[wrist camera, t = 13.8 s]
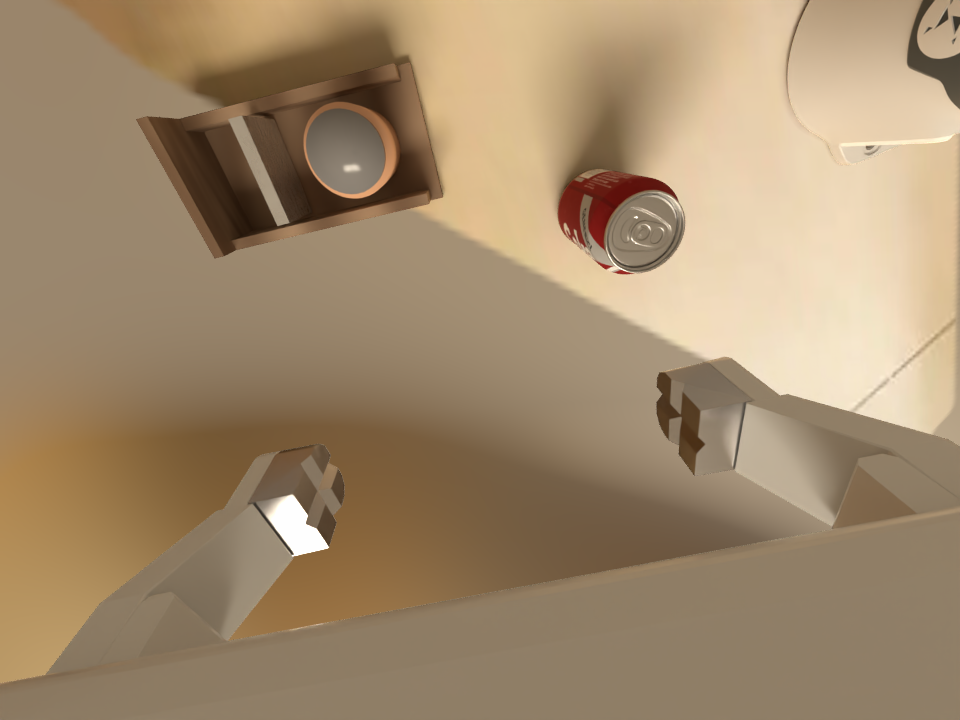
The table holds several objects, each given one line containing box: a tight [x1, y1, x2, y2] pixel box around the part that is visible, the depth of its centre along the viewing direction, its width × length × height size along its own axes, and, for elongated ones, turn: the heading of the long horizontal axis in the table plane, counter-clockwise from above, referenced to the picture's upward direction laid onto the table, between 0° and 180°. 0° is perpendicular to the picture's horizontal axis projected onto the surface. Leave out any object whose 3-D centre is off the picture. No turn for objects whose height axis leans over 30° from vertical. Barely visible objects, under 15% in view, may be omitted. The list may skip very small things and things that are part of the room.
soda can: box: [558, 169, 685, 274], centre depth 32 cm, size 7×7×12 cm
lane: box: [136, 62, 443, 258], centre depth 31 cm, size 18×10×7 cm, turn 102°
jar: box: [304, 102, 401, 198], centre depth 30 cm, size 6×6×7 cm
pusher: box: [228, 116, 312, 226], centre depth 30 cm, size 3×7×6 cm, turn 12°
